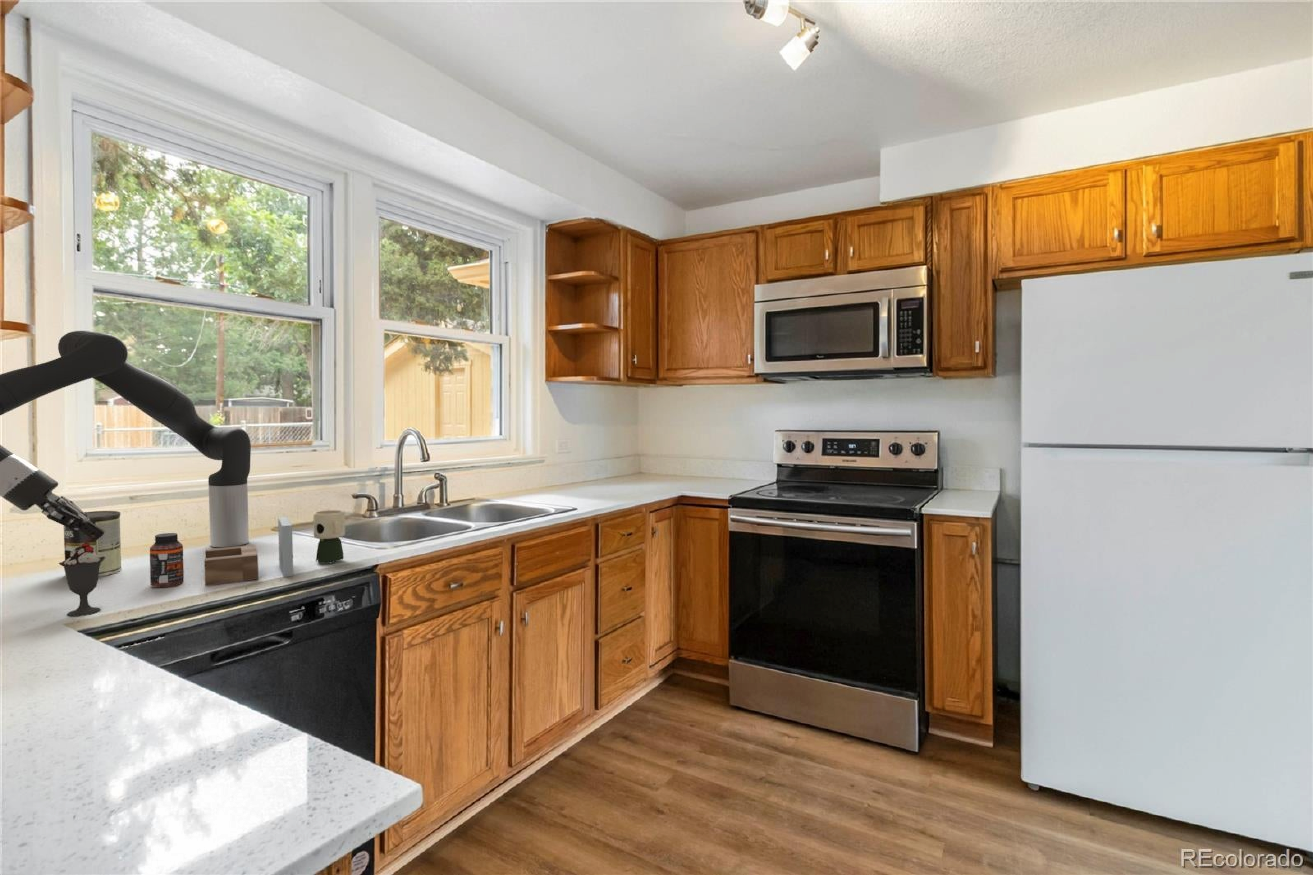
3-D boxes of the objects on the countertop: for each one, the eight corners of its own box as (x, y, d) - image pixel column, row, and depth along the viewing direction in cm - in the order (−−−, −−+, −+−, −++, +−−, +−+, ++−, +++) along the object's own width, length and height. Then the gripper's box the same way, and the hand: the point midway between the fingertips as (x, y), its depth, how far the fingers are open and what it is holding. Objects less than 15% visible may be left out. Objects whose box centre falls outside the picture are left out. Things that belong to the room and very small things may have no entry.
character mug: (307, 561, 166) (306, 510, 165) (336, 556, 171) (335, 507, 171) (323, 568, 159) (322, 516, 158) (352, 563, 164) (352, 512, 163)
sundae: (109, 612, 125) (106, 535, 124) (62, 620, 120) (59, 540, 119) (104, 604, 130) (101, 530, 129) (59, 612, 125) (56, 535, 124)
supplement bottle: (170, 588, 141) (168, 537, 140) (143, 588, 141) (141, 537, 141) (190, 581, 147) (189, 531, 146) (164, 580, 147) (163, 531, 147)
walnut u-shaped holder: (206, 572, 153) (205, 549, 153) (255, 566, 159) (255, 544, 159) (205, 585, 143) (204, 560, 142) (258, 578, 148) (257, 555, 148)
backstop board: (279, 565, 162) (278, 517, 161) (288, 564, 163) (287, 516, 162) (283, 576, 151) (282, 526, 150) (293, 575, 152) (292, 525, 151)
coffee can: (67, 581, 146) (64, 519, 145) (62, 573, 153) (60, 514, 152) (126, 573, 153) (123, 514, 153) (118, 565, 160) (116, 509, 160)
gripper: (29, 471, 126) (112, 527, 133) (44, 465, 137) (120, 518, 144) (-9, 500, 123) (79, 556, 130) (10, 492, 134) (90, 544, 141)
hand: (100, 536), depth 137 cm, fingers closed
